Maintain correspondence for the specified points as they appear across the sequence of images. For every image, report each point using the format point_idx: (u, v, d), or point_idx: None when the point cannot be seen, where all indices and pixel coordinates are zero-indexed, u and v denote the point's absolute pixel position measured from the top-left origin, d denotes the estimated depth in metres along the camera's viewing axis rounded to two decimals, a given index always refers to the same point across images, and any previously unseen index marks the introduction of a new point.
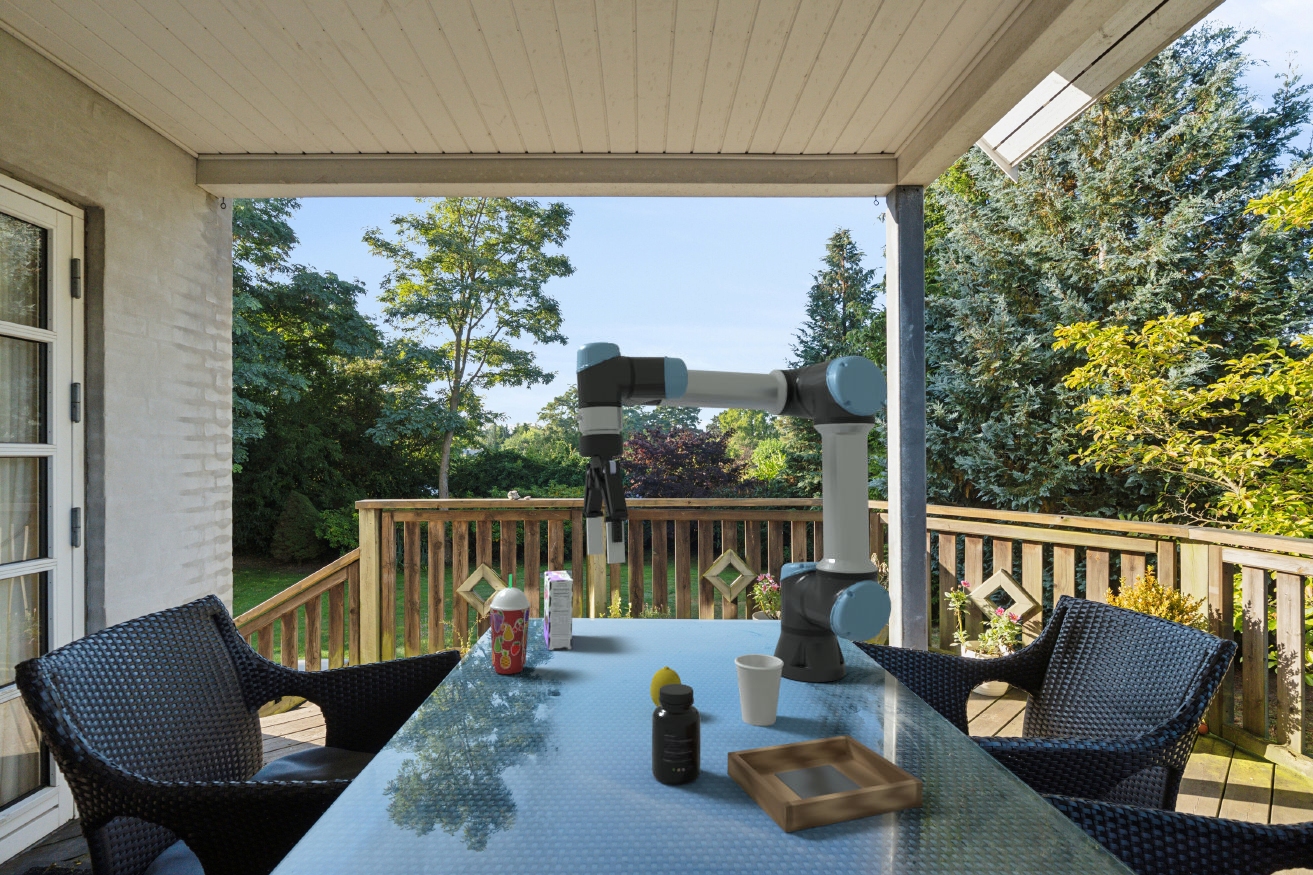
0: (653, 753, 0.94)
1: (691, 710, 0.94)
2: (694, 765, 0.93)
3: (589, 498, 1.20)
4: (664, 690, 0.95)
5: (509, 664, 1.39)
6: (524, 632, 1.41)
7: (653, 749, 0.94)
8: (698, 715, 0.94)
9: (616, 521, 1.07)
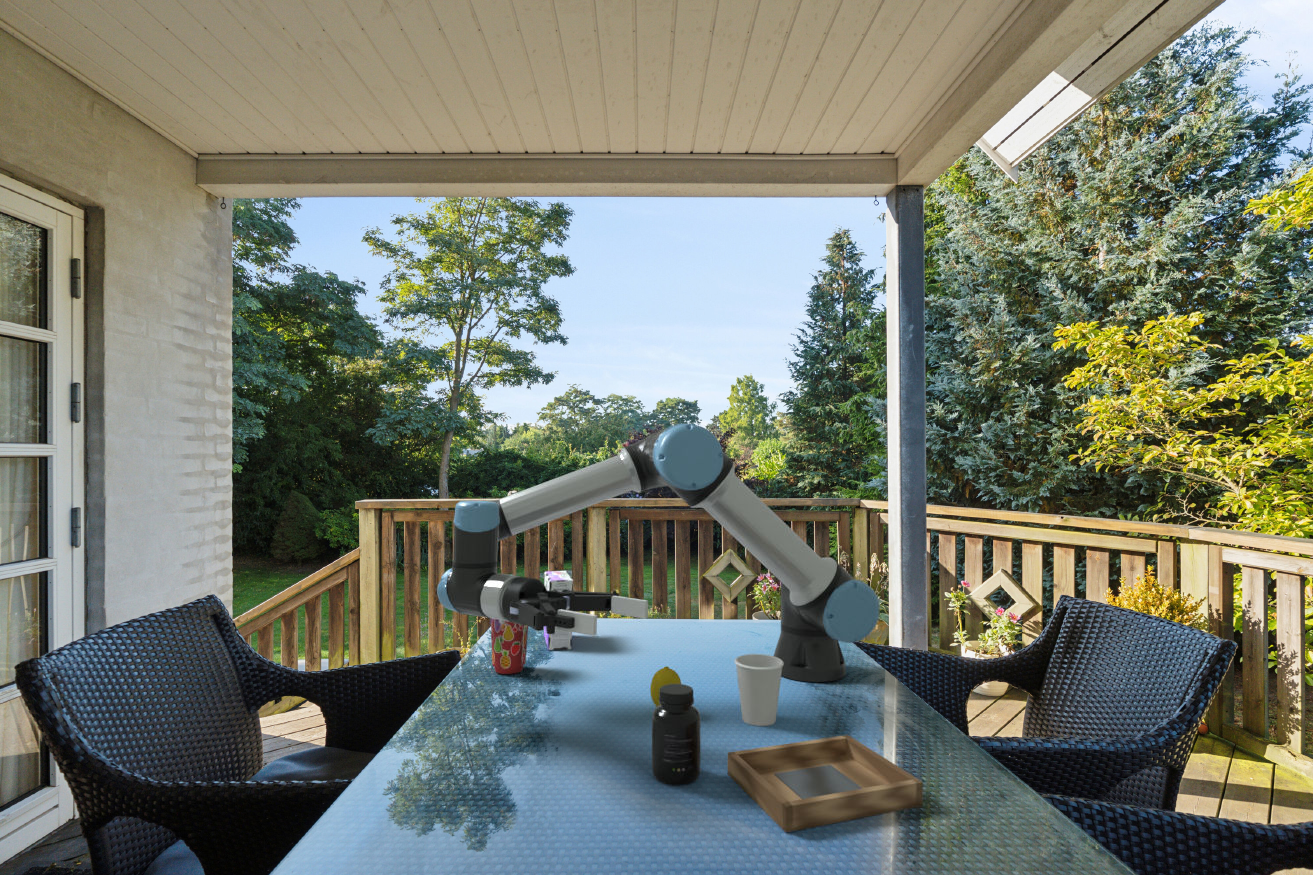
0: (653, 753, 0.94)
1: (691, 710, 0.94)
2: (694, 765, 0.93)
3: None
4: (664, 690, 0.95)
5: (509, 664, 1.39)
6: (524, 632, 1.41)
7: (653, 749, 0.94)
8: (698, 715, 0.94)
9: (550, 622, 0.97)
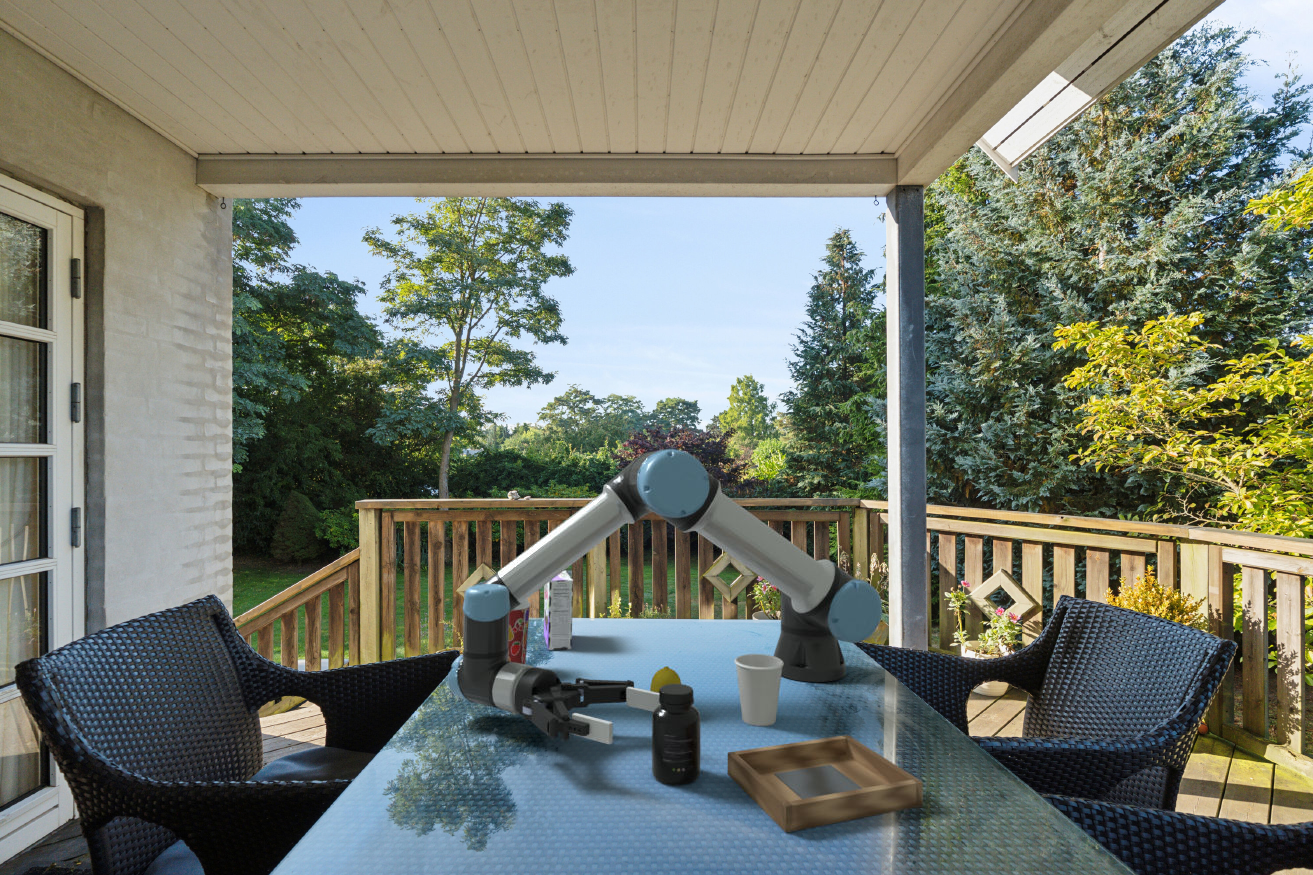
0: (653, 753, 0.94)
1: (691, 710, 0.94)
2: (694, 765, 0.93)
3: None
4: (664, 690, 0.95)
5: None
6: (524, 632, 1.41)
7: (653, 749, 0.94)
8: (698, 715, 0.94)
9: (564, 728, 0.94)
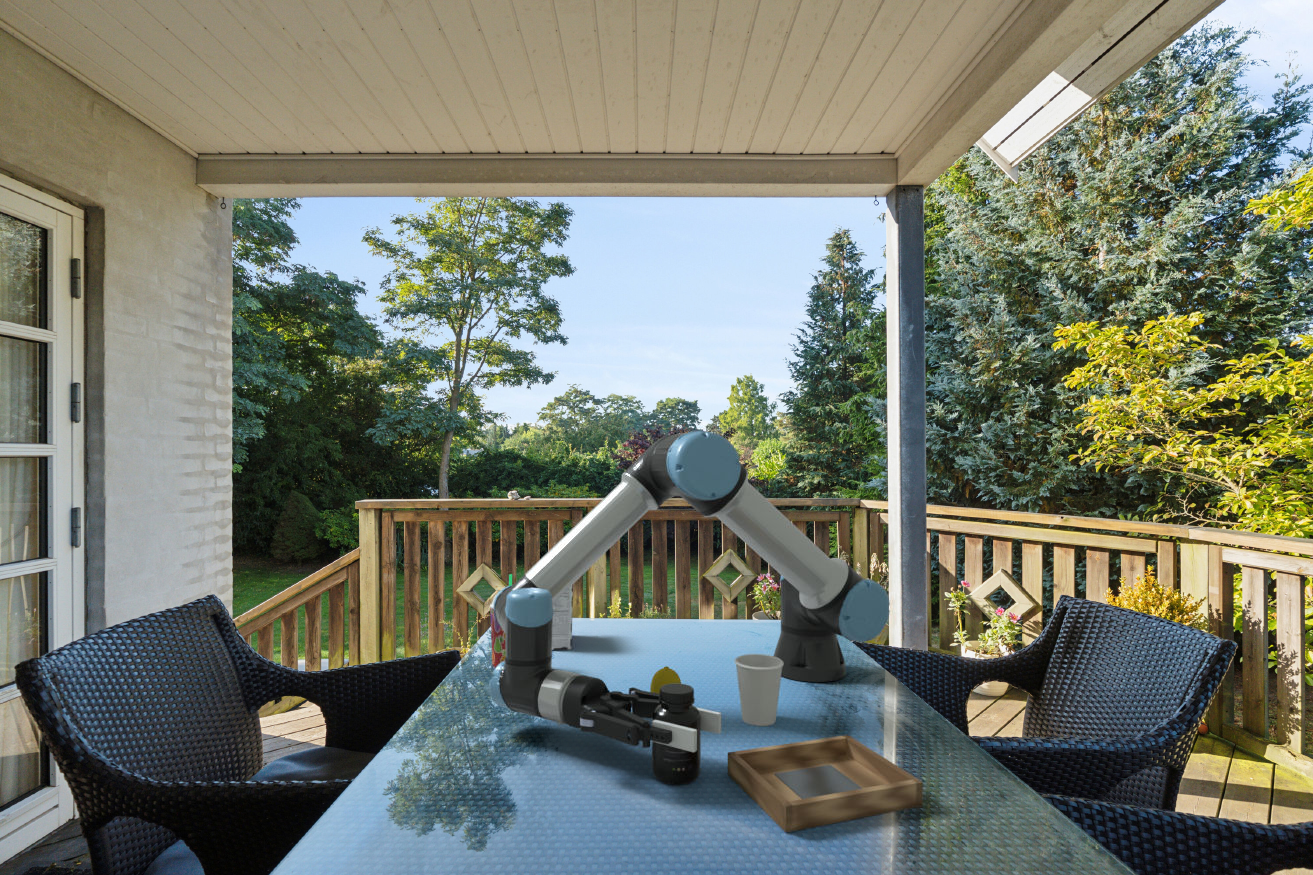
0: (653, 752, 0.94)
1: (692, 709, 0.94)
2: (694, 765, 0.93)
3: (652, 717, 1.01)
4: (665, 689, 0.95)
5: None
6: None
7: (653, 748, 0.94)
8: (698, 715, 0.94)
9: (645, 735, 0.91)
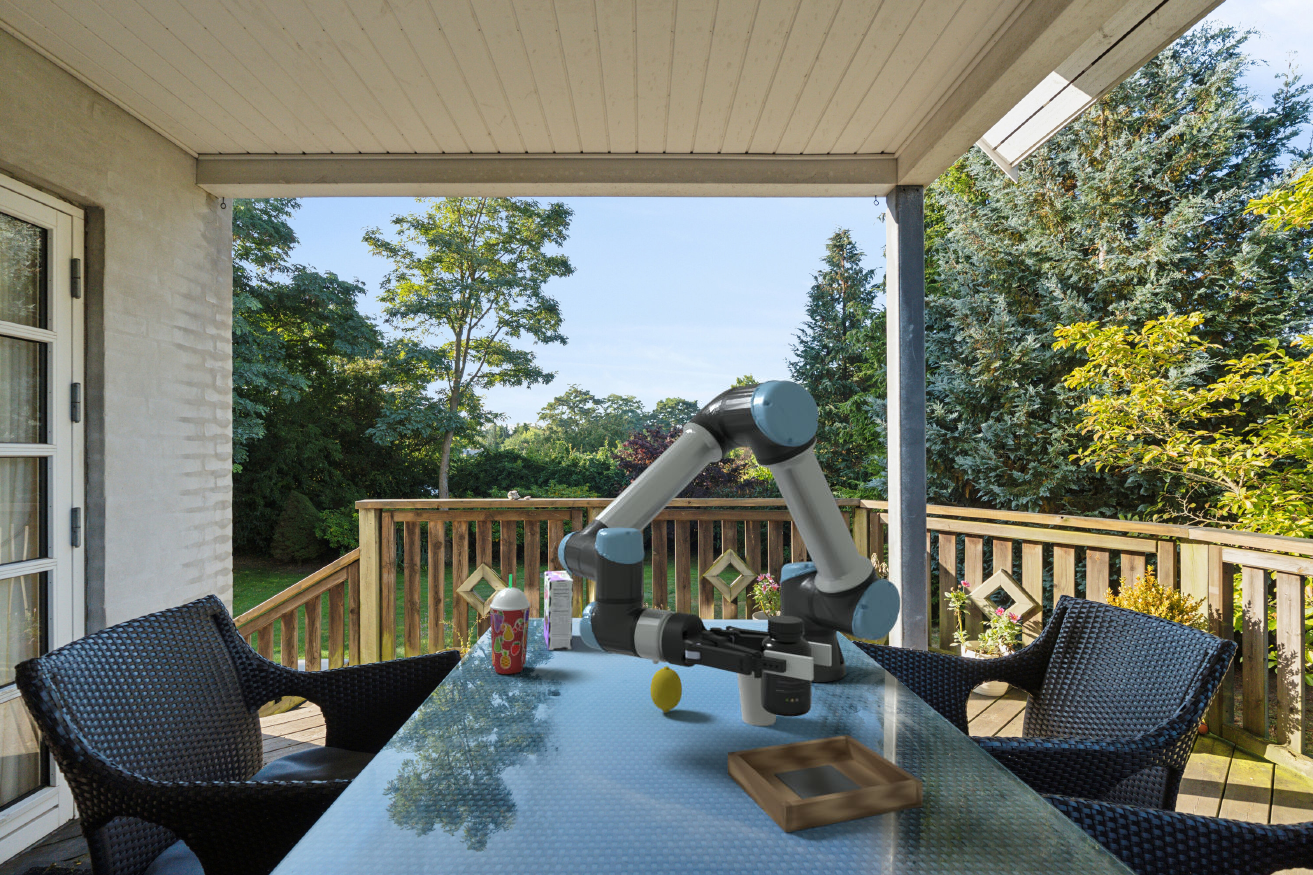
0: (763, 685, 0.91)
1: (802, 640, 0.91)
2: (807, 696, 0.89)
3: None
4: (774, 620, 0.92)
5: (509, 664, 1.39)
6: (524, 632, 1.41)
7: (763, 680, 0.91)
8: (809, 646, 0.91)
9: (758, 665, 0.88)
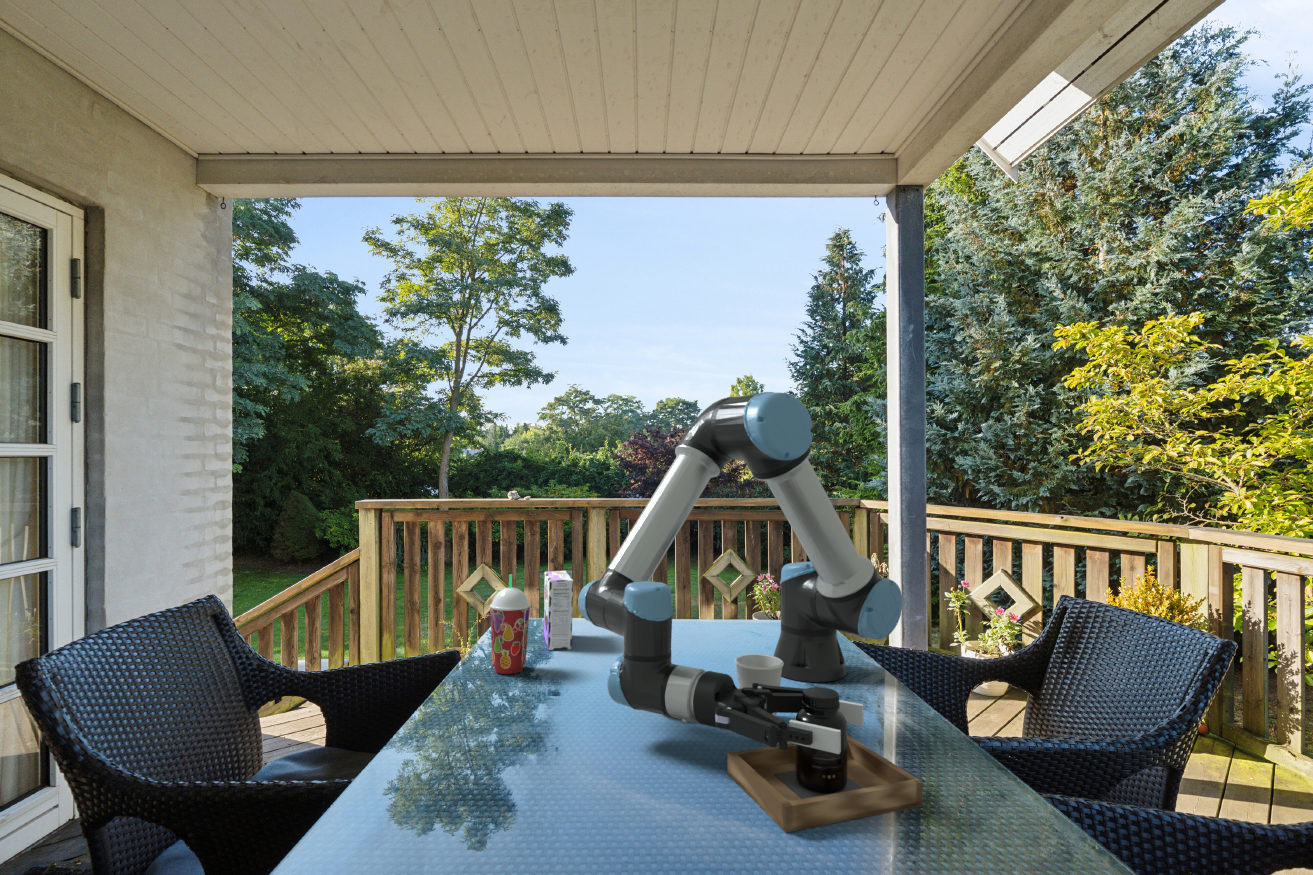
0: (799, 759, 0.90)
1: (838, 714, 0.90)
2: (843, 772, 0.89)
3: None
4: (809, 694, 0.91)
5: (509, 664, 1.39)
6: (524, 632, 1.41)
7: (799, 755, 0.90)
8: (845, 720, 0.91)
9: (783, 736, 0.87)
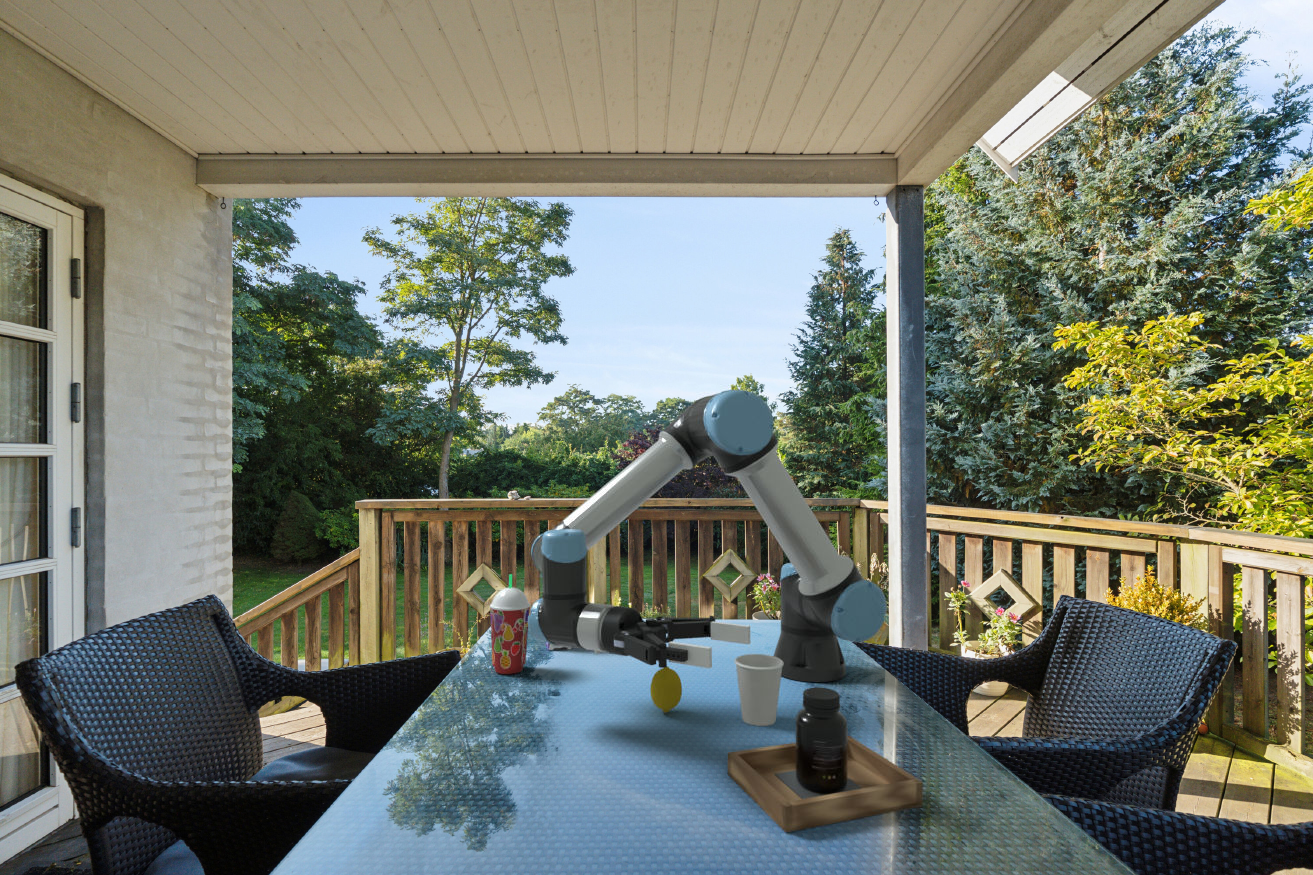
0: (799, 760, 0.90)
1: (839, 715, 0.90)
2: (843, 772, 0.89)
3: None
4: (809, 694, 0.91)
5: (509, 664, 1.39)
6: (524, 632, 1.41)
7: (799, 755, 0.90)
8: (845, 720, 0.91)
9: (662, 656, 0.96)
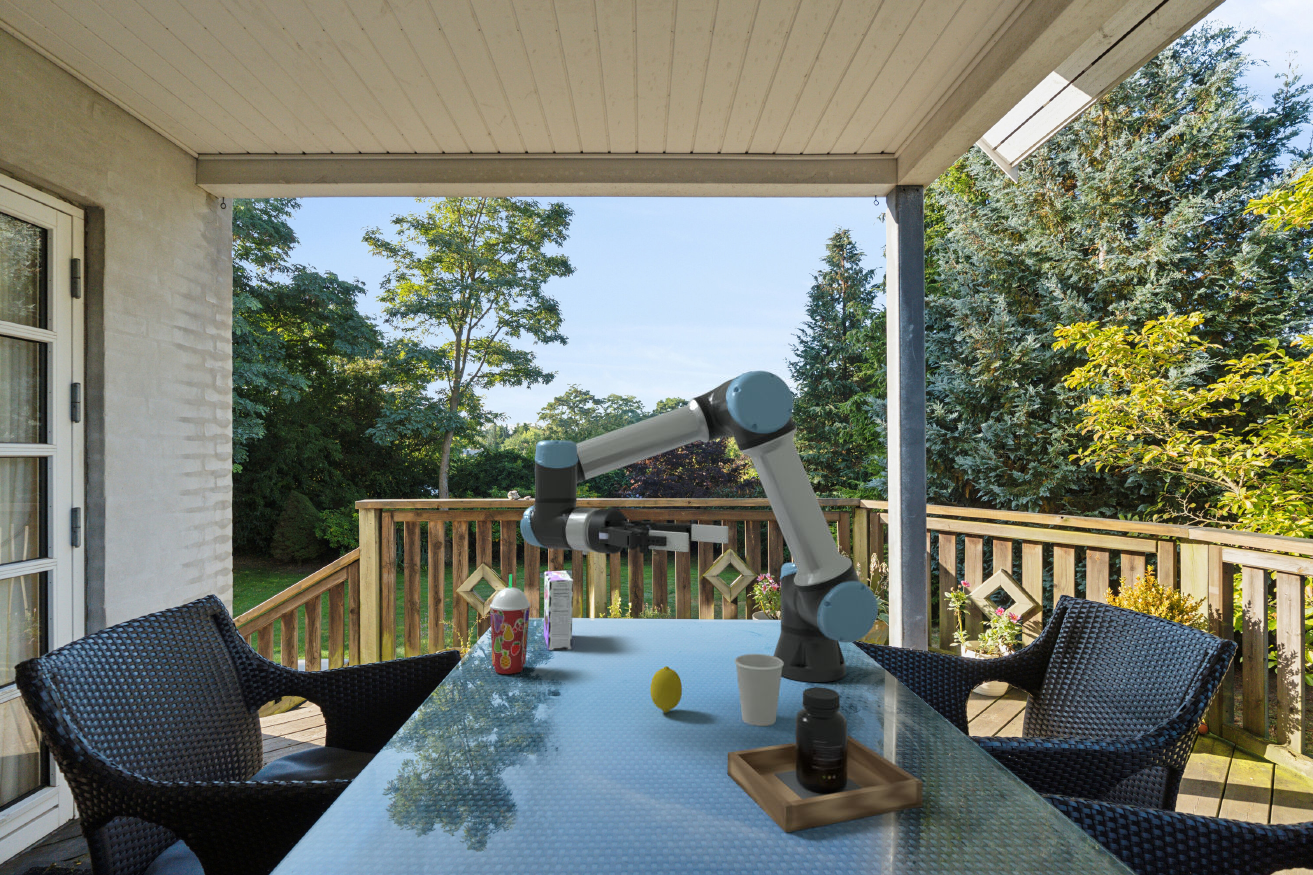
0: (799, 760, 0.90)
1: (838, 715, 0.90)
2: (843, 772, 0.89)
3: None
4: (809, 694, 0.91)
5: (509, 664, 1.39)
6: (524, 632, 1.41)
7: (799, 755, 0.90)
8: (845, 720, 0.91)
9: (642, 542, 1.02)
